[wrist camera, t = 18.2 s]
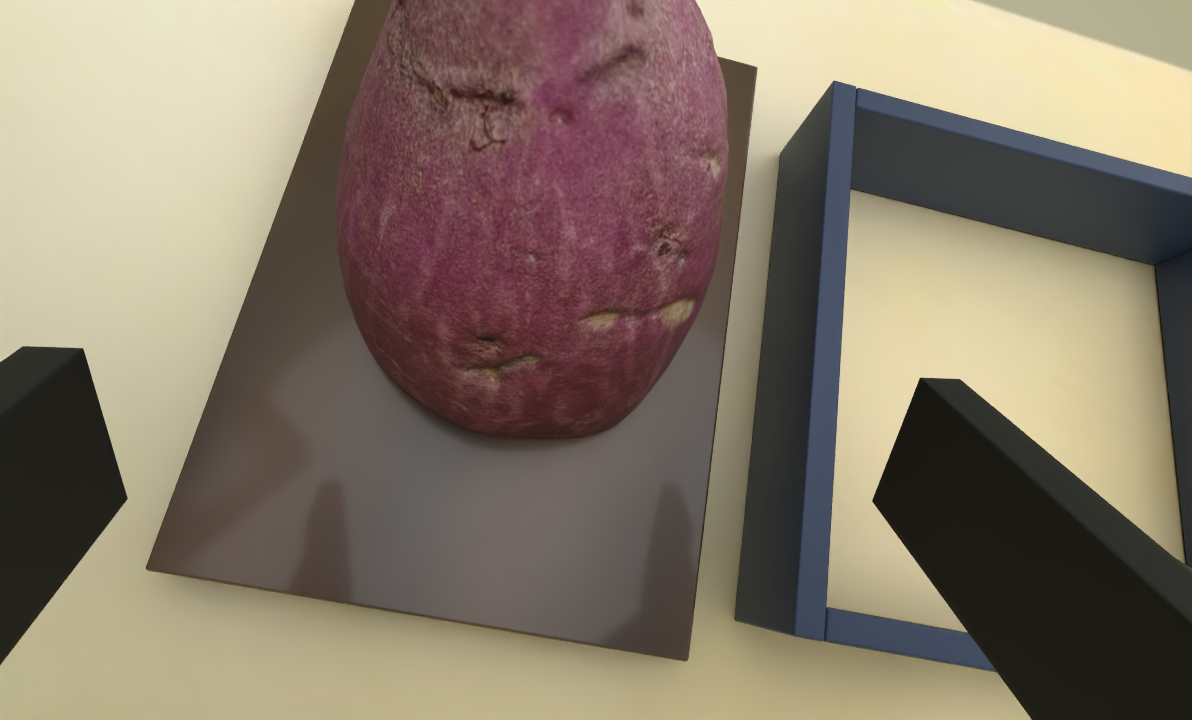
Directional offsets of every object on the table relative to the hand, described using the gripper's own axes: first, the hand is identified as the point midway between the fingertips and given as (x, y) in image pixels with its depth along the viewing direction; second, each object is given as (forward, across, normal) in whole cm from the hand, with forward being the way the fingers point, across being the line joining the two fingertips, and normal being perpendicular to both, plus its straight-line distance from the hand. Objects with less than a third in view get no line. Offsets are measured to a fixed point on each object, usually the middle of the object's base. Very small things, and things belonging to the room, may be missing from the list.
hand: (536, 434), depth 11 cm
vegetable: (+10, 0, -1) cm, 10 cm away
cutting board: (+11, 0, -2) cm, 11 cm away
